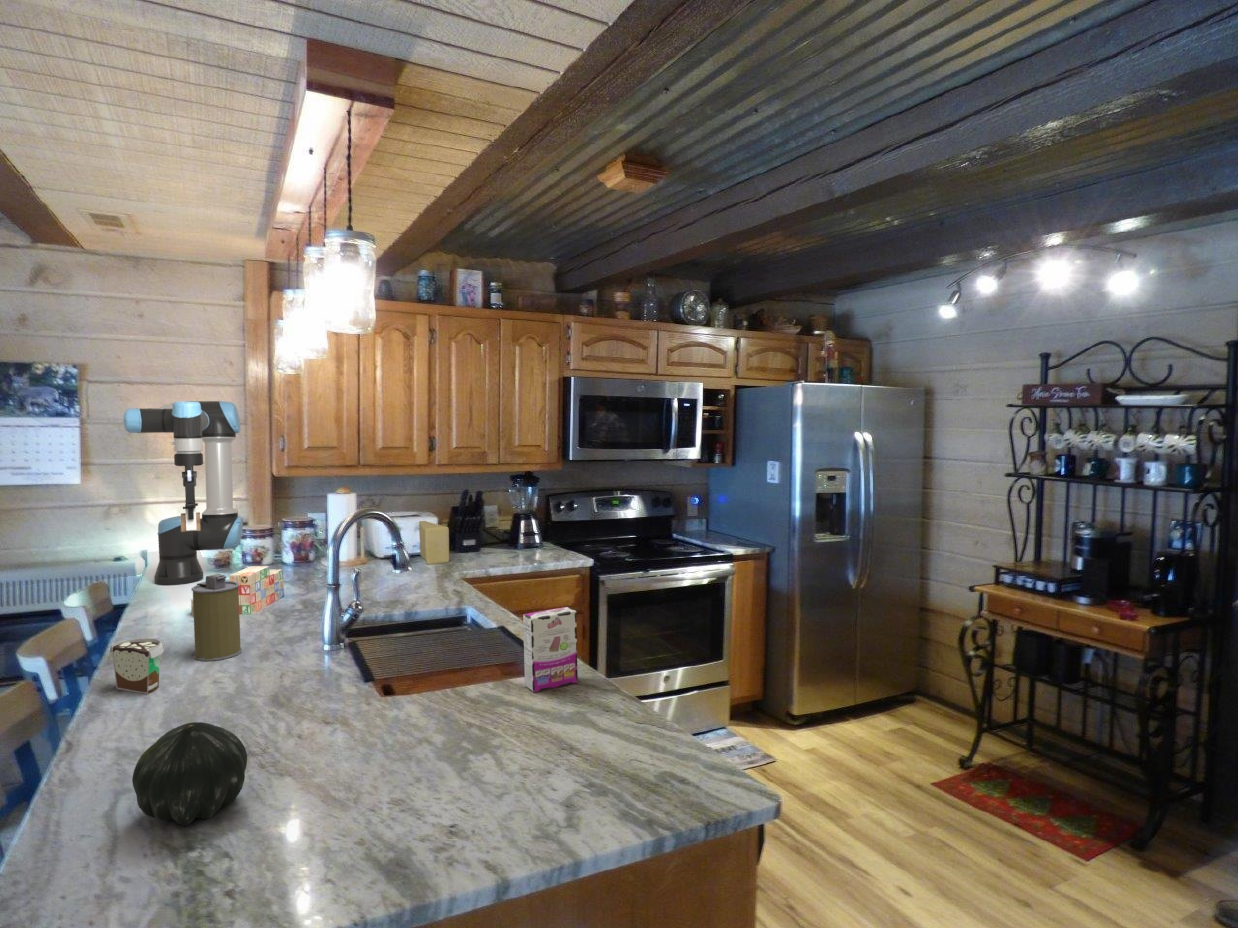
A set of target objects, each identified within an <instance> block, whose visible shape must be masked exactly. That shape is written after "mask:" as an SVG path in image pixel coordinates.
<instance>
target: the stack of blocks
mask: <svg viewBox="0 0 1238 928" xmlns="http://www.w3.org/2000/svg"><path fill="white" fill-rule="evenodd" d="M283 573H284V572H283V569H270V565H269V566H268V565H263V566H261V565H259V566H258V565H257V566H254V565H253V566H248V567H246V568H244V569H243V568H242V569H241V570H239V571H236V572H234V573H232V574H229V581H233V582H238V583H239V615H253V614H255V613H256V612H258V611H261V610H262V609H265V608H267V606H268V607H269V605H271V604H273V603H275V602H277V601H279V600H280V599H283V598H284V597H285V589H284V585H285V584H284V583H285V581H284V574H283Z"/></svg>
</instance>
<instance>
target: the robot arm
mask: <svg viewBox="0 0 1238 928" xmlns="http://www.w3.org/2000/svg"><path fill="white" fill-rule="evenodd" d="M123 424H124V425H123V426H124V428H125V431H126V432H128V433H130V434H131V433H133V434H154V433H155V434H157V433H159V434H160V433H165V434H166V433H167V434H168V433H169V434H170V433H173V441H171V442H170V443H171V445H172V446H173V451H174V452H176V453H174V456H173V461H174V463H173V464H174V466H176V467H184V471H181V478H182V486H183V487H184V491H185V495H184V496H185V503H184V504H185V505H184V506H182V510H185V513H186V531H187V530H197V526H196V513H197V507H198V506H199V502H196V494H195V493H196V491H195V487H196V486H197V478H198V473H197V471H195V470H194V467H195V466H196V467H197V466H202V465H203V464H204V466H205V468H204V470H205V472H204V473H205V501H206V503H205V505H206V508H205V510H204V511H202V512H201V517H200V528H201V529H200V531H187V532H181V515H178V516H172V517H167V518H164V519H162V520H160V521H159V522H158V523H157V524H158V527H157V538H158V559H159V561H158V565H157V568H156V571H155V573H154V575H153V577H154V578H153V579H154V584H156V585H162V586H169V585H170V586H172V585H182V584H183V585H184V584H189V583H195V582H198V581H201V580H203V579H204V572H203V571H204V570H203V569H202V566H201V564H200V562H199V559H198V554H197V553H198V552H197V551H212V550H213V551H215V550H216V551H217V550H223V551H225V550H229V549H235V548H238V546H239V545H240V543H241V540H242V535H243V529H244V528H243V525H244V523H243V520H244V518H243V517H242V516H239V513H238V511H237V510H236V508H234V500H233V499H234V498H233V497H234V495H233V463H232V462H233V459H232V457H233V456H232V454H233V453H232V443H233V441H234V440H236V437H237V436H236V435H237V434H239V433H241V422H240V416H239V410H238V409H237V406H236V404H235V403H234V402H233V401H232V402H231V401H222V400H216V401H213V400H209V401H207V400H204V401H203V400H201V401H198V400H195V401H193V400H189V401H188V400H187V401H174V402H173V403H167V404H163V405H162V406H159V407H150V408H139V407H136V408H128V409H126V410H125V412H124V414H123ZM203 444H204V445H203ZM203 447H204V449H203ZM203 450H204V454H203V453H202V452H203ZM204 458H205V459H204Z"/></svg>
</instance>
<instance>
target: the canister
mask: <svg viewBox="0 0 1238 928" xmlns="http://www.w3.org/2000/svg"><path fill="white" fill-rule="evenodd" d="M226 579H227V576H226V575H225V574H220V573H214V574H211V575H207V576H205V581H203V582H199V583H196V585H194V586H193V587H191V588H190V589H191V591H192V599H193V610H194V616H193V633H194V635H193V636H194V655H193V658H194V659H195V661H196V660H197V661H200V662H216V661H221V660H227V659H231V658H233V657H236V656H238V655H239V654H241V653H242V651H243V650H242V647H241V622H240V619H241V618H240V614H239V583H238V582H233V581H230V580H229V581H227V580H226Z"/></svg>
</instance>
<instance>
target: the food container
mask: <svg viewBox="0 0 1238 928" xmlns="http://www.w3.org/2000/svg"><path fill="white" fill-rule="evenodd" d="M110 644H111V645H110V646H109V647H110V650H109V653H111V656H112V662H113V663H112V665H113V670H114V671H113V672H114V678H115V687H116V689H117V690H121V691H127V692H133V693H138V694H139V693H140V694H145V695H149V694H151V693H153V692H156V691H157V690H158V689H159V684H160V666H161V655H162V654H163V653H164V651H165V650H164V646H163V643H162V642H161V640H160V639H157V638H153V637H152V638H151V637H149V638H148V637H147V638H146V637H143V638H142V637H141V638H133V639H132V638H131V639H126V640H120V641H116V642H112V643H110Z"/></svg>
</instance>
